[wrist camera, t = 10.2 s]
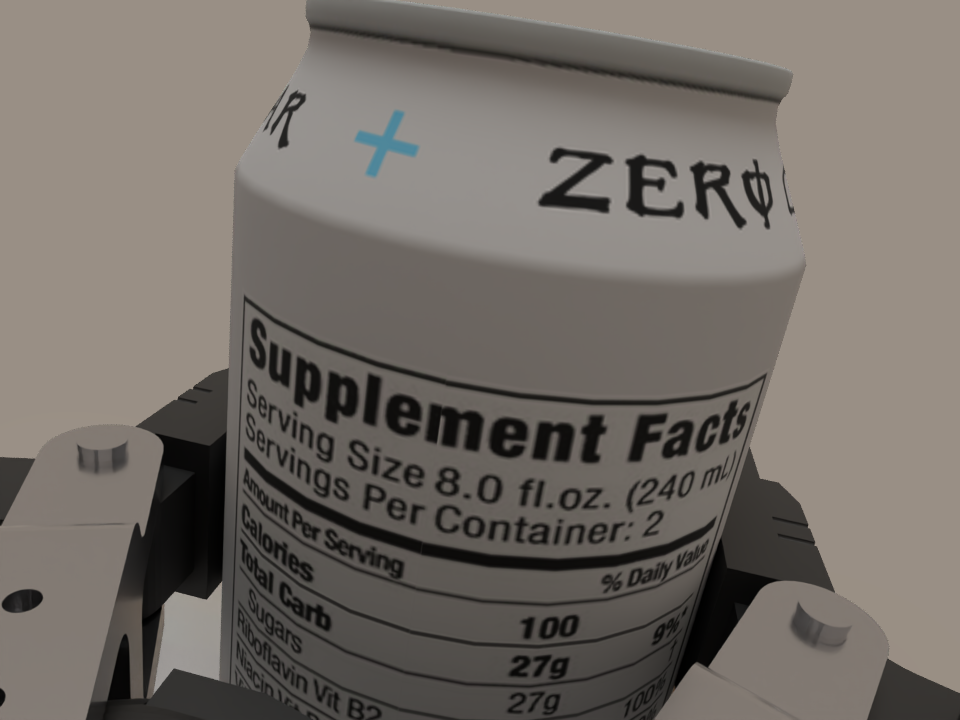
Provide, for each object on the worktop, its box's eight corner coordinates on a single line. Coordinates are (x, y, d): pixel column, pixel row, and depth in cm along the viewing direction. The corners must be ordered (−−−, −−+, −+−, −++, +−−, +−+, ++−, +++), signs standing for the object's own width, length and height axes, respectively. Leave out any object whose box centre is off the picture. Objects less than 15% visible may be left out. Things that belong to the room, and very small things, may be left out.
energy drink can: (576, 853, 16) (793, 83, 10) (543, 1278, 10) (983, 82, 5) (299, 773, 16) (364, 16, 11) (126, 1127, 11) (82, -55, 5)
